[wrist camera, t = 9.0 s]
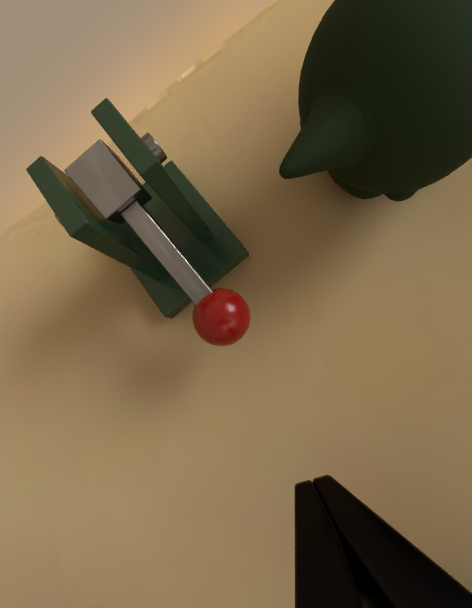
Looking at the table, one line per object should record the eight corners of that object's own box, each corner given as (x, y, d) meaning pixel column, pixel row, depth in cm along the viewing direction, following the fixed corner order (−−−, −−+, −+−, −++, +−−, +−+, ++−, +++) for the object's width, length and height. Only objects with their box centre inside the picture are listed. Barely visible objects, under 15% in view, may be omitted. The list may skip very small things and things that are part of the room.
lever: (258, 316, 19) (264, 326, 16) (218, 348, 19) (216, 365, 16) (125, 151, 17) (103, 129, 14) (82, 188, 18) (53, 174, 15)
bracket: (249, 255, 23) (208, 181, 13) (171, 318, 23) (77, 292, 14) (177, 168, 25) (97, 52, 15) (107, 228, 25) (-12, 151, 16)
